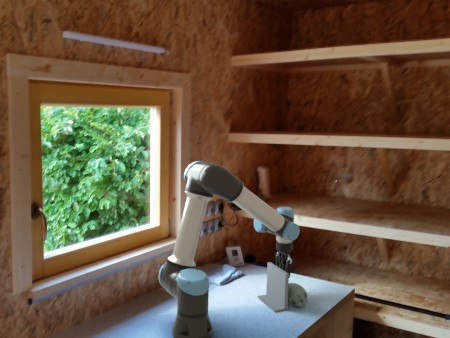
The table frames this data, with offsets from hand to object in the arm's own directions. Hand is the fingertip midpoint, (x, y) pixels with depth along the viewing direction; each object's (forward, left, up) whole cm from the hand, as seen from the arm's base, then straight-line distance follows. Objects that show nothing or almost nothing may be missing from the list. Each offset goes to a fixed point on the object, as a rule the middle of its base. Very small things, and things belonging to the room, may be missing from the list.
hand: (282, 290), depth 213 cm
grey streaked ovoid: (0, -11, -2) cm, 11 cm away
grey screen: (-10, -8, -2) cm, 12 cm away
